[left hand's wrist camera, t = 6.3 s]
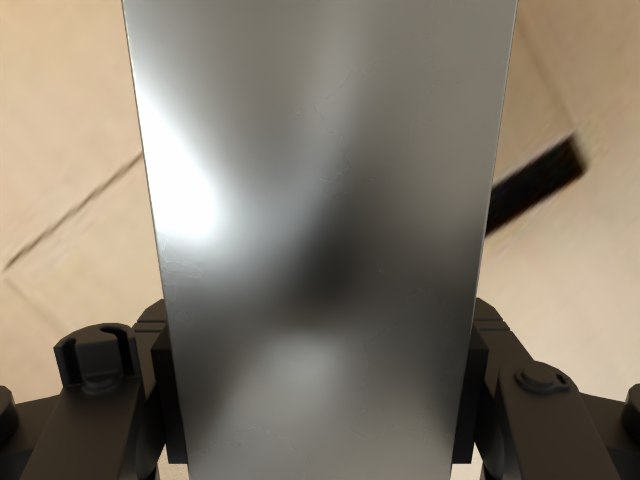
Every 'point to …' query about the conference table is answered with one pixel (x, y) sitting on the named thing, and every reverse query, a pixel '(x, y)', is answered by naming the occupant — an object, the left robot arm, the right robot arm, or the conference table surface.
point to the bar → (319, 223)
